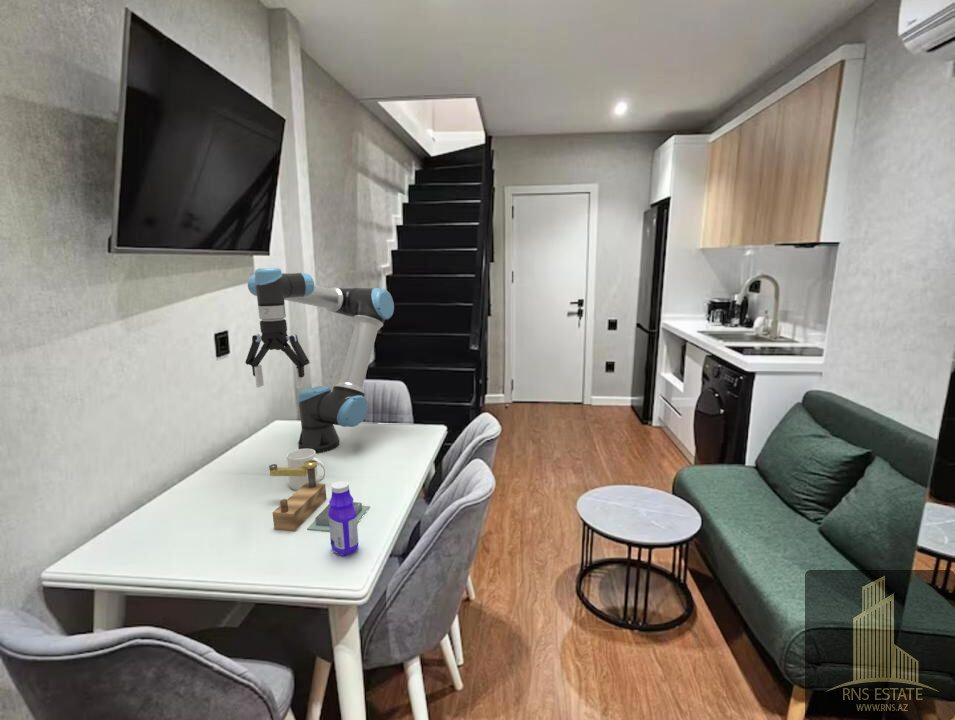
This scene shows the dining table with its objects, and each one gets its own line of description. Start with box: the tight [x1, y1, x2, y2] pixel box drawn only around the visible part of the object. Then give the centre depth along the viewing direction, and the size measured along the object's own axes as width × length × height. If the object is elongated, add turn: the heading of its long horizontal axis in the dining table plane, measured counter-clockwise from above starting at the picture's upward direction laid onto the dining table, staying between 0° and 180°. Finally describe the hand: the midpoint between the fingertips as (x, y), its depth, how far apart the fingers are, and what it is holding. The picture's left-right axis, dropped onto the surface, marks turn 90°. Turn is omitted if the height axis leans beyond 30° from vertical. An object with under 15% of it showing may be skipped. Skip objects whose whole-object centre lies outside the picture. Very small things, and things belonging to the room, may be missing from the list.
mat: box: [307, 505, 371, 533], centre depth 139 cm, size 14×12×1 cm
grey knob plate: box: [314, 501, 363, 526], centre depth 138 cm, size 10×9×3 cm
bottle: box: [328, 480, 359, 556], centre depth 122 cm, size 7×6×17 cm
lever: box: [268, 460, 318, 477], centre depth 147 cm, size 14×4×4 cm, turn 87°
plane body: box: [272, 468, 327, 532], centre depth 141 cm, size 18×6×11 cm, turn 170°
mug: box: [286, 448, 326, 491], centre depth 158 cm, size 9×12×11 cm
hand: (279, 387), depth 156 cm, fingers open, 13 cm apart
